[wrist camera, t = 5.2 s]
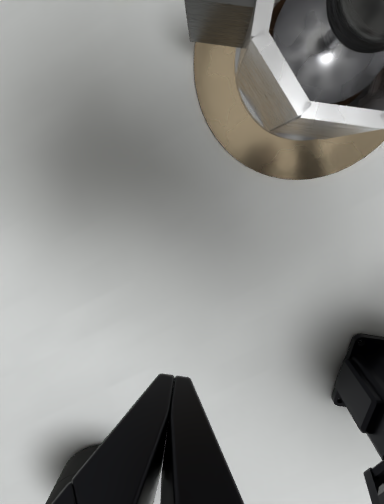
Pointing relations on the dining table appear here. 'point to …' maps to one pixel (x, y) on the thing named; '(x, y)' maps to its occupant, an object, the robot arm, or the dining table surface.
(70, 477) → the pen holder
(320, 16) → the dark round knob
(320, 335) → the dining table surface
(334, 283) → the dining table surface
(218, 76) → the moka pot
